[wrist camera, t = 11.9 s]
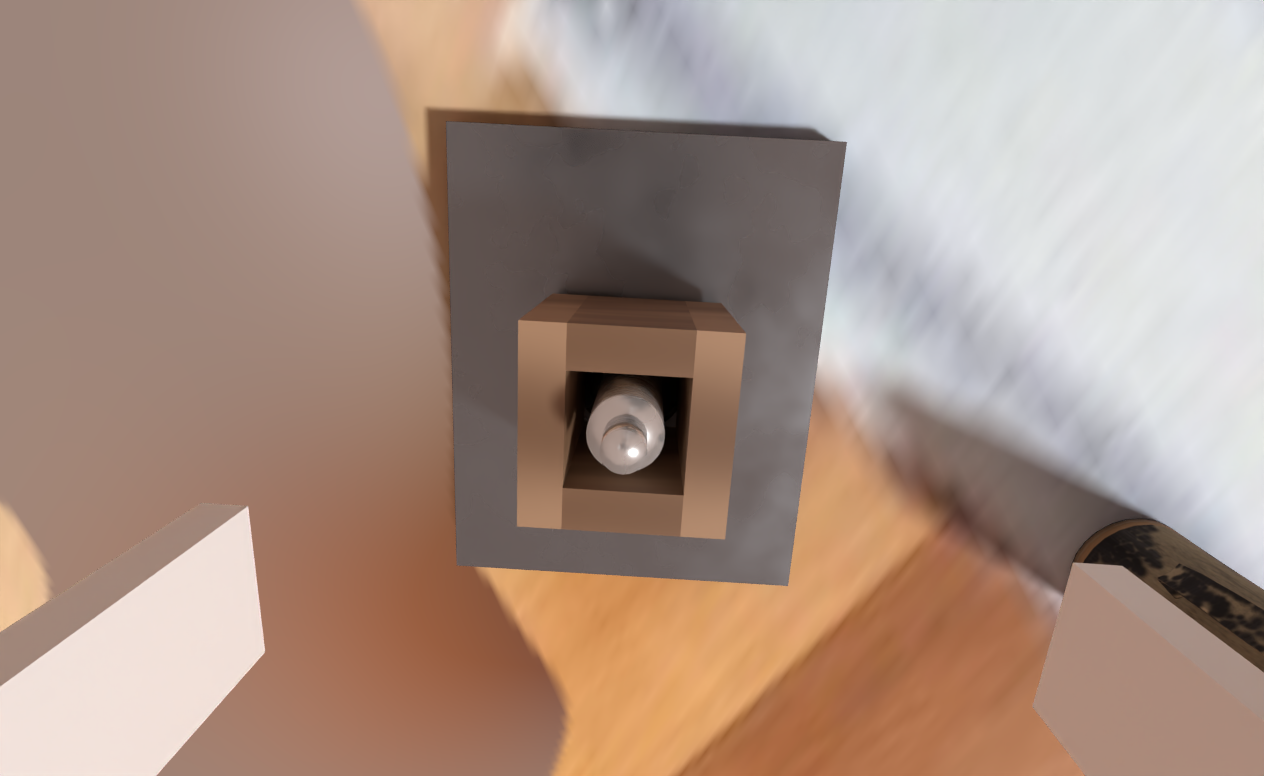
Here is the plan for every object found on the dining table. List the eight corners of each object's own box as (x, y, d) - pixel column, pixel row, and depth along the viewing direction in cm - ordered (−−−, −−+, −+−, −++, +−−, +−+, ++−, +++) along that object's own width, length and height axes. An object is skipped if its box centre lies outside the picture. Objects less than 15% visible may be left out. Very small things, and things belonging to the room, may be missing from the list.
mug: (1210, 576, 31) (1548, 792, 19) (1111, 640, 32) (1373, 881, 20) (1122, 464, 29) (1428, 624, 18) (1021, 535, 31) (1247, 730, 19)
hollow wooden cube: (552, 293, 26) (518, 319, 19) (721, 303, 26) (746, 333, 19) (549, 451, 28) (516, 526, 21) (707, 461, 28) (725, 539, 21)
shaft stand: (454, 125, 26) (329, 66, 16) (838, 145, 26) (960, 98, 16) (463, 552, 32) (373, 715, 21) (782, 572, 31) (847, 746, 21)
